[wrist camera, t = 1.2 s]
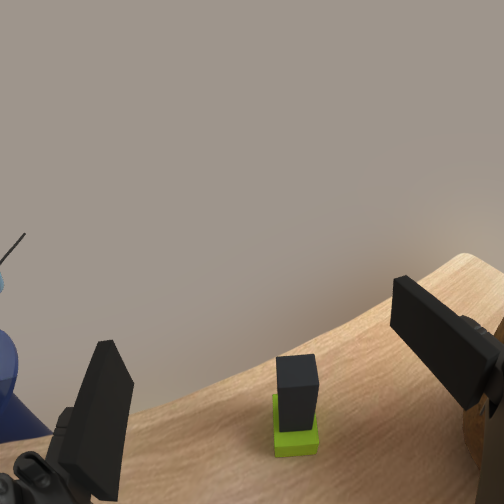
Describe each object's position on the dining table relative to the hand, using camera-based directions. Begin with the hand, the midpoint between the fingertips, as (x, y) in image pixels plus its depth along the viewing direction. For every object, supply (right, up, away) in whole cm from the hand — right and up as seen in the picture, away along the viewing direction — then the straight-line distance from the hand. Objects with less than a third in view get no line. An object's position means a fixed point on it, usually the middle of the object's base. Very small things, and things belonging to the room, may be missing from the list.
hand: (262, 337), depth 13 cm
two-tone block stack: (+4, -14, +14) cm, 21 cm away
